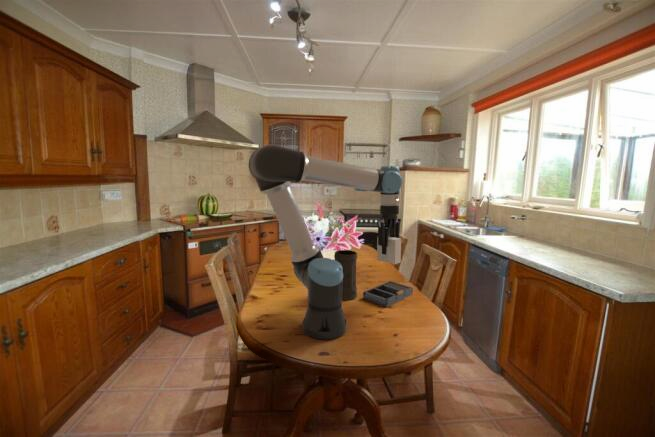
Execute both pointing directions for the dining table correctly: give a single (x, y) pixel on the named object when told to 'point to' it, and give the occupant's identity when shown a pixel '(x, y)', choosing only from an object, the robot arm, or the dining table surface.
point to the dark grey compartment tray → (387, 293)
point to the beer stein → (348, 272)
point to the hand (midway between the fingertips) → (388, 260)
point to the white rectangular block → (391, 250)
